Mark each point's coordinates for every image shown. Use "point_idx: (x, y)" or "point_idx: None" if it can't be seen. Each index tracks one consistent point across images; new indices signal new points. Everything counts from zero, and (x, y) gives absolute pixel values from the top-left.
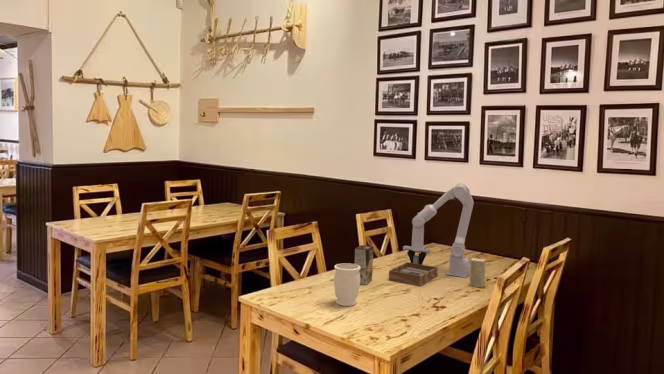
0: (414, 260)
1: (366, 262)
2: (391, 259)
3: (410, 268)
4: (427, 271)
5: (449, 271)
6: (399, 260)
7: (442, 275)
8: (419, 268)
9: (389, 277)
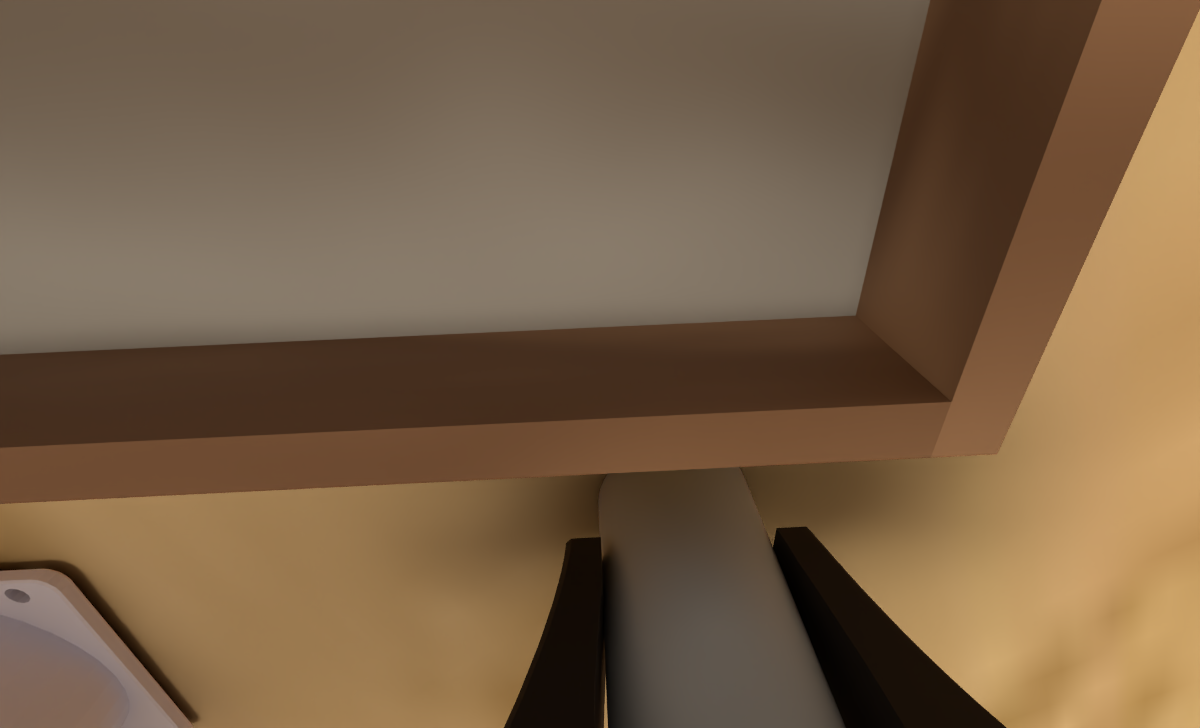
0: (765, 666)
1: None
2: (1191, 705)
3: (722, 232)
4: (70, 264)
5: (13, 657)
6: (1064, 722)
7: None
8: (430, 346)
9: None
